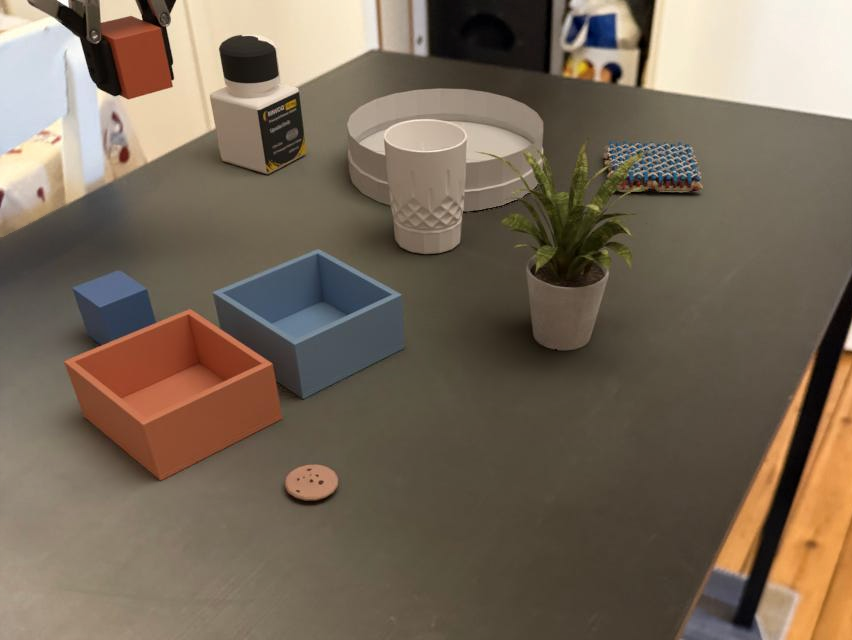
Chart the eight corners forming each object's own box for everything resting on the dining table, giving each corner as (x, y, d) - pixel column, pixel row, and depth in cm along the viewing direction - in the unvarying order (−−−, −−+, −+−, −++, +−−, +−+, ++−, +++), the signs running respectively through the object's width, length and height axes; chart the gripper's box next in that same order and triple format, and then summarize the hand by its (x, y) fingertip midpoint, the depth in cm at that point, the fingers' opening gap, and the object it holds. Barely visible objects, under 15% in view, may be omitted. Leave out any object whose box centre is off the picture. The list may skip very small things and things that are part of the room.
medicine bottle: (268, 176, 104) (249, 55, 94) (220, 161, 106) (197, 42, 97) (308, 154, 108) (294, 36, 99) (261, 141, 110) (243, 25, 101)
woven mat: (690, 158, 108) (693, 139, 107) (702, 197, 101) (706, 178, 100) (601, 156, 108) (603, 137, 107) (608, 195, 101) (610, 176, 100)
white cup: (378, 250, 92) (370, 144, 85) (405, 217, 97) (400, 114, 90) (452, 263, 91) (451, 156, 83) (476, 228, 96) (477, 124, 88)
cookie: (302, 511, 66) (300, 500, 65) (275, 481, 68) (273, 470, 67) (349, 491, 67) (347, 480, 67) (321, 462, 69) (320, 452, 69)
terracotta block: (100, 86, 80) (84, 26, 77) (144, 74, 82) (131, 15, 79) (128, 99, 78) (113, 39, 75) (173, 87, 80) (160, 27, 77)
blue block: (88, 335, 81) (71, 287, 78) (133, 317, 83) (119, 269, 80) (114, 355, 79) (99, 307, 76) (160, 336, 81) (147, 288, 78)
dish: (527, 222, 97) (530, 173, 93) (325, 203, 99) (319, 154, 95) (554, 141, 111) (557, 95, 107) (376, 126, 113) (373, 81, 110)
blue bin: (223, 346, 80) (212, 292, 76) (324, 301, 86) (318, 248, 82) (303, 399, 75) (294, 344, 71) (405, 348, 80) (402, 294, 77)
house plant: (456, 372, 78) (454, 172, 66) (479, 291, 87) (481, 102, 75) (624, 388, 77) (655, 187, 64) (630, 304, 86) (658, 114, 74)
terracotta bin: (83, 416, 73) (63, 360, 69) (203, 362, 78) (190, 308, 75) (160, 481, 68) (142, 424, 64) (282, 418, 73) (273, 363, 70)
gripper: (142, -212, 72) (192, 52, 86) (-69, -192, 64) (24, 97, 78) (197, -201, 69) (241, 72, 83) (-18, -178, 61) (70, 121, 74)
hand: (135, 81), depth 80 cm, fingers closed on terracotta block, 4 cm apart
